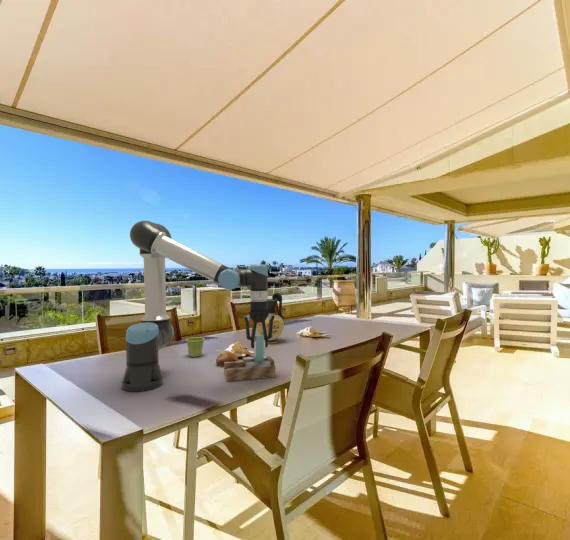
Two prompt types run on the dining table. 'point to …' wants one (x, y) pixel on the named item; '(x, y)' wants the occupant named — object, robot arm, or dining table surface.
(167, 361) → the dining table surface
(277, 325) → the amphora
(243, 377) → the slot board
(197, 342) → the plant pot
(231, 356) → the bread roll
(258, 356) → the t post
